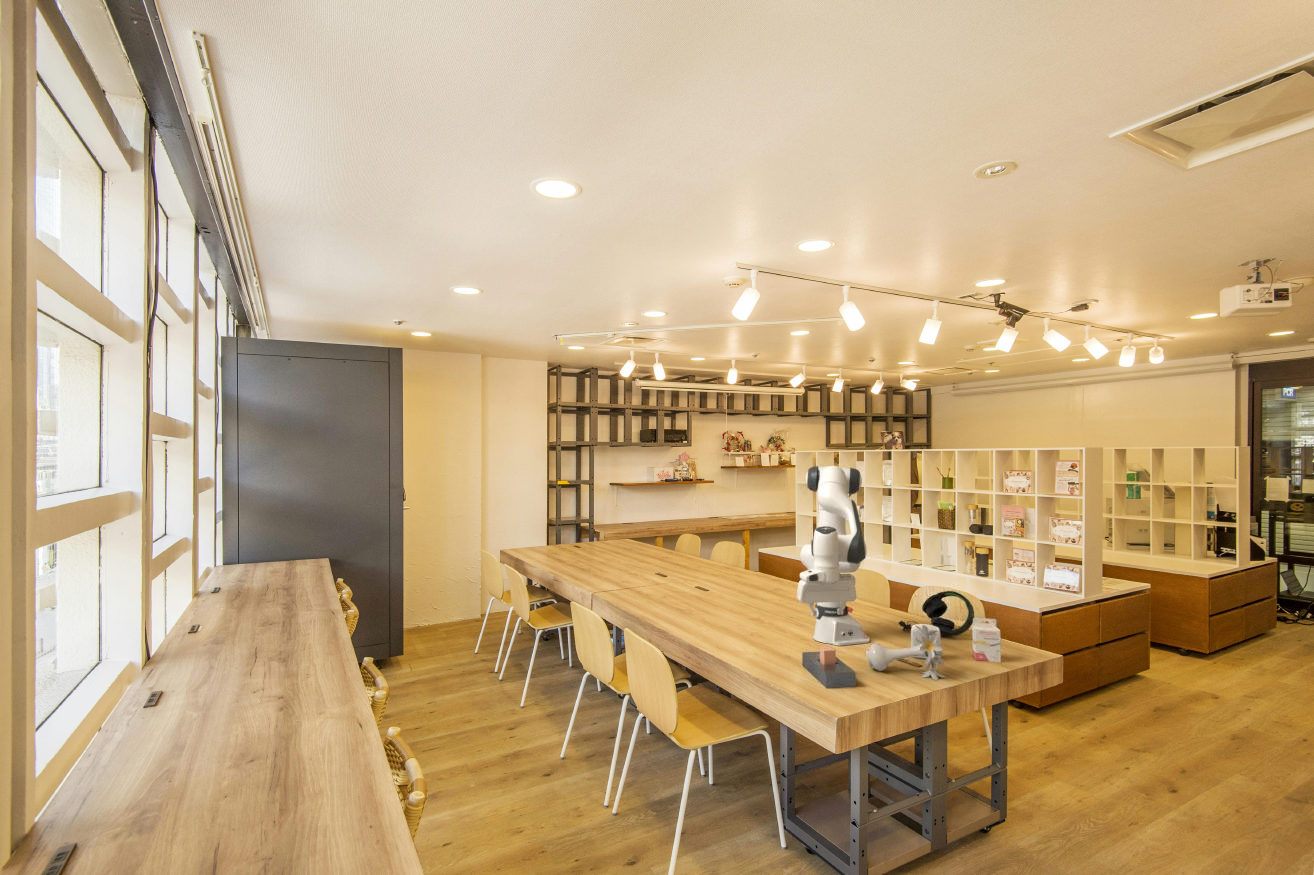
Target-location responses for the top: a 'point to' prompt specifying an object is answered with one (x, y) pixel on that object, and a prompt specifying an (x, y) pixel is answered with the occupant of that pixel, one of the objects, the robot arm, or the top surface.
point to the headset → (938, 607)
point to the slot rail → (829, 671)
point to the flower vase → (909, 653)
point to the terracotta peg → (827, 655)
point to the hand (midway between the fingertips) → (827, 614)
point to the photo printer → (917, 633)
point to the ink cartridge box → (986, 640)
